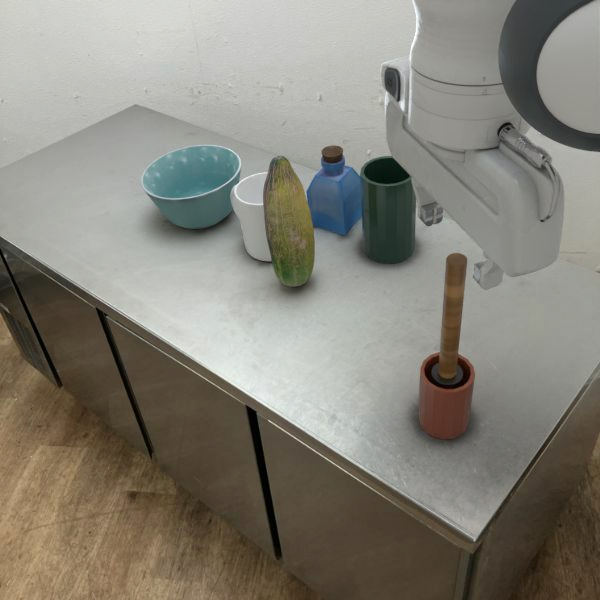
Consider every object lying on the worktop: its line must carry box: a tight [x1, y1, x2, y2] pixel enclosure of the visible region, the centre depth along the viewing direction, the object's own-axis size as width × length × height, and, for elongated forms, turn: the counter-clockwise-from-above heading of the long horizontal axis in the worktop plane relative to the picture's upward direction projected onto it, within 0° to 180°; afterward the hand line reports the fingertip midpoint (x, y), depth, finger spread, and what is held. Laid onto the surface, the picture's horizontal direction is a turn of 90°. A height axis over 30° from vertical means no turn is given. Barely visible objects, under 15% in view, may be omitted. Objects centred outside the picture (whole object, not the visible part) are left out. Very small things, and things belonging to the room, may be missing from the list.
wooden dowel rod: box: [431, 252, 468, 389], centre depth 63 cm, size 3×3×22 cm
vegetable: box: [263, 155, 316, 288], centre depth 83 cm, size 6×6×20 cm
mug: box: [230, 171, 272, 262], centre depth 95 cm, size 12×8×10 cm
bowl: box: [140, 144, 242, 230], centre depth 103 cm, size 16×16×8 cm
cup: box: [359, 155, 417, 265], centre depth 90 cm, size 7×8×13 cm
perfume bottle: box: [305, 144, 362, 236], centre depth 97 cm, size 6×6×12 cm
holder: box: [417, 351, 476, 440], centre depth 69 cm, size 5×5×8 cm
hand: (456, 250), depth 55 cm, fingers open, 8 cm apart
